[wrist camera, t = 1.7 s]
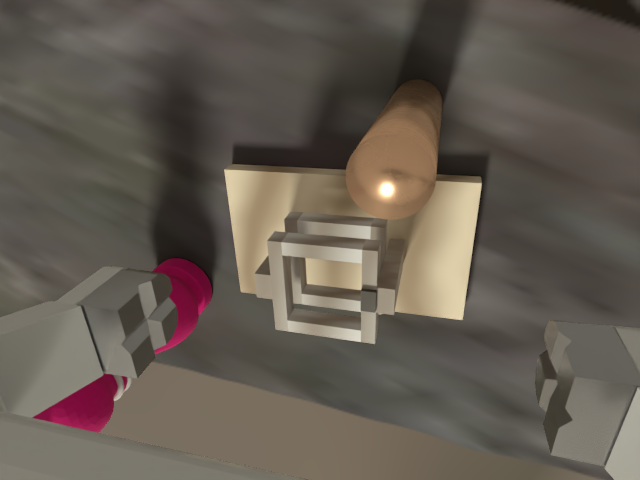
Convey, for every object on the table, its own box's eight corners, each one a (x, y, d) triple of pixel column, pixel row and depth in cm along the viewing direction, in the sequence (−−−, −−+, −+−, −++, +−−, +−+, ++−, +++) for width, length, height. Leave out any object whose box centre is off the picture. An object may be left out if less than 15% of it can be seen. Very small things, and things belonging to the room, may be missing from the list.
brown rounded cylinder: (444, 79, 30) (440, 135, 16) (439, 134, 32) (431, 227, 18) (391, 79, 31) (345, 132, 17) (389, 133, 33) (345, 220, 19)
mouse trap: (480, 176, 32) (490, 228, 25) (462, 309, 38) (465, 386, 30) (232, 164, 37) (174, 203, 29) (247, 283, 43) (201, 344, 35)
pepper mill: (141, 258, 45) (-51, 411, 28) (200, 247, 42) (28, 409, 25) (171, 316, 47) (12, 488, 30) (227, 309, 45) (89, 494, 28)
